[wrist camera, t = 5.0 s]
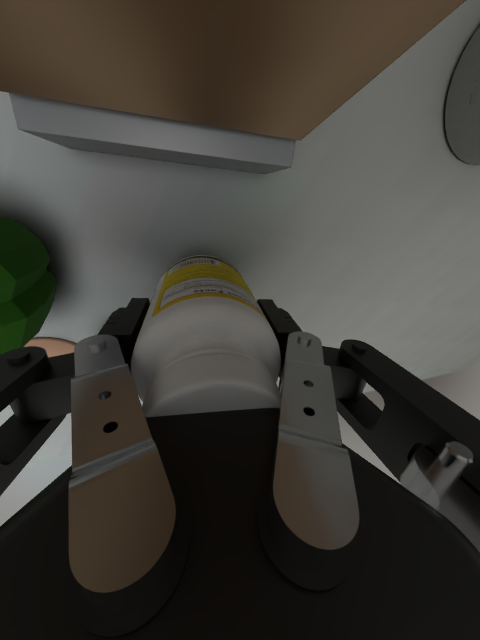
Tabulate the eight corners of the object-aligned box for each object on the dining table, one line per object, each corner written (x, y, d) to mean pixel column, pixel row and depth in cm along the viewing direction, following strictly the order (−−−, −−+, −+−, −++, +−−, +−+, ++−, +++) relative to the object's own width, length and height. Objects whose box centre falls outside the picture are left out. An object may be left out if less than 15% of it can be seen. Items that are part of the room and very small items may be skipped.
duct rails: (268, 138, 16) (299, 117, 11) (244, 343, 23) (256, 379, 19) (62, 104, 13) (1, 62, 9) (107, 346, 21) (84, 387, 16)
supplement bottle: (211, 348, 17) (227, 514, 8) (139, 305, 14) (55, 472, 6) (264, 289, 15) (352, 416, 7) (193, 231, 13) (187, 309, 4)
